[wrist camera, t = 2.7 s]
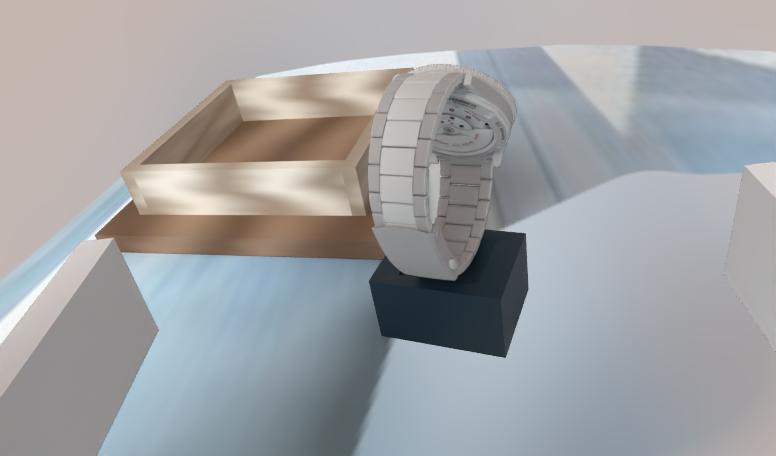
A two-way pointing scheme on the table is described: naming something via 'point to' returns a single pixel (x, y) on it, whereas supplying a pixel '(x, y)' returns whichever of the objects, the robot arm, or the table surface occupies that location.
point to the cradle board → (261, 172)
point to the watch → (444, 212)
